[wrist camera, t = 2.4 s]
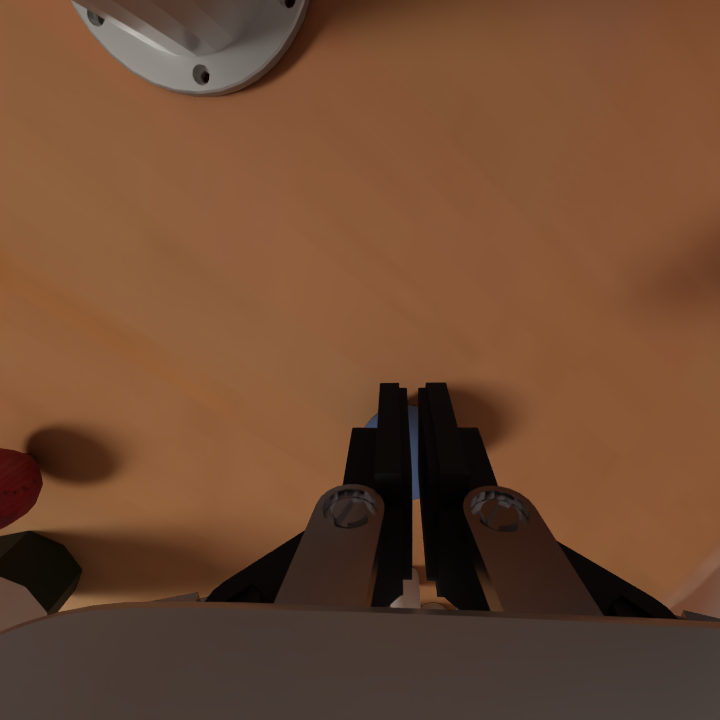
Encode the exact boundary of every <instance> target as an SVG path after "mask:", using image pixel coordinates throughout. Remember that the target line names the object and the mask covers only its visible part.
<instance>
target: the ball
mask: <svg viewBox="0 0 720 720" xmlns="http://www.w3.org/2000/svg"><path fill="white" fill-rule="evenodd" d="M408 415H409V431H410V446H411V462H412V500H415V499H419V498H420V494H419V482H418V407H415V406H410V405H408ZM377 422H378V413H377V414H376V415H375V416H374V417H373V418H372V419H371V420H370V421H369V422H368V423H367V425H366V426H365V428H377Z"/></svg>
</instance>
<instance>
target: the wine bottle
mask: <svg viewBox="0 0 720 720" xmlns="http://www.w3.org/2000/svg"><path fill="white" fill-rule="evenodd" d="M81 572H82V569H81V568H80V566H79V565H78V564H77V562H76V561H75V560H74V558H73V557H72V556H71V554H70V553H69V552H68V550H67V549H66V548H65V546H64V545H62V544H59V543H57V542H55V541H52V540H50V539H47V538H45V537H43V536H40V535H38V534H35V533H33V532H31V531H25V532H20V533H15V534H10V535H5V536H0V632H1V631H3V630H5V629H8V628H10V627H13V626H15V625H18V624H21V623H24V622H27V621H30V620H34V619H37V618H40V617H43V616H47V615H50V614H53V613H57V612H58V611H59V610H60V609H61V607H62V606H63V605H64V603H65V602H66V601H67V600H68V598H69V597H70V596H71V595H72V593H73V592H74V591H75V589H76V586H77V583H78V581H79V578H80V575H81Z"/></svg>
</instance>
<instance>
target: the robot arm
mask: <svg viewBox="0 0 720 720" xmlns="http://www.w3.org/2000/svg"><path fill="white" fill-rule="evenodd" d="M70 1H71V3H72V5H73V7H74V9H75V10H76V12H77V13H78V15H79V16H80V18H81V19H82V21H83V22H84V24H85V25H86V27H87V28H88V30H89V31H90V33H91V34H92V35H93V36H94V37H95V38H96V39H97V41H98V42H99V43H100V44H101V45H102V46H103V47H104V48H105V50H106V51H107V52H108V53H109V54H110V55H111V56H112V57H113V58H115V59H116V60H117V61H118V62H120V63H121V64H122V65H123V66H125V67H126V68H127V69H128V70H129V71H131V72H132V73H134V74H136V75H137V76H139V77H141V78H143V79H145V80H146V81H148V82H150V83H152V84H154V85H156V86H159V87H161V88H164V89H166V90H169V91H171V92H174V93H179V94H184V95H189V96H194V97H211V96H220V95H224V94H228V93H232V92H236V91H239V90H241V89H243V88H244V87H246V86H248V85H250V84H252V83H254V82H256V81H258V80H259V79H260V78H261V77H262V76H264V75H265V74H266V73H267V72H268V71H269V70H271V69H272V68H273V67H274V66H275V65H276V64H277V63H278V61H279V60H280V59H281V58H282V56H283V55H284V54H285V52H286V51H287V50H288V48H289V47H290V46H291V44H292V42H293V40H294V38H295V36H296V35H297V33H298V31H299V29H300V27H301V25H302V23H303V21H304V18H305V15H306V12H307V8H308V5H309V2H310V0H295V4H294V6H293V7H291V8H287V1H288V0H70ZM104 19H105V21H104ZM208 73H209V74H210V77H209V81H208V83H207V84H206V83H205V81H204V77H205V75H206V74H208ZM418 482H419V494H420V506H421V518H422V530H423V542H424V554H425V566H426V577H427V581H436V590H437V597H445V598H446V599H447V600H448V601H449V602H450V603H452V604H453V605H454V606H455V607H456V610H447V609H421V608H394V607H388V606H390V605H391V604H392V603H393V602H394V601H395V600H396V599H397V598H398V597H400V596H403V580H412V462H411V446H410V431H409V415H408V400H407V388H399V383H380V393H379V407H378V422H377V428H353V429H352V433H351V439H350V445H349V451H348V457H347V463H346V469H345V475H344V481H343V485H342V486H337V487H335V488H333V489H331V490H329V491H327V492H326V493H325V494H324V495H322V496H321V498H320V499H319V501H318V502H317V504H316V506H315V508H314V511H313V513H312V515H311V518H310V520H309V522H308V525H307V527H306V529H305V531H303V532H301V533H300V534H298V535H297V536H295V537H294V538H292V539H290V540H289V541H287V542H286V543H284V544H283V545H281V546H280V547H278V548H276V549H275V550H273V551H272V552H270V553H269V554H267V555H265V556H264V557H262V558H261V559H259V560H258V561H256V562H254V563H253V564H251V565H250V566H248V567H247V568H245V569H244V570H242V571H240V572H239V573H237V574H236V575H234V576H233V577H231V578H229V579H228V580H226V581H225V582H223V583H222V584H221V585H220V586H218V587H217V588H216V589H215V590H213V591H212V593H211V594H210V595H209V596H208V597H204V598H199V594H198V592H197V593H192V594H187V595H182V596H176V597H171V598H166V599H161V600H156V601H150V602H122V603H112V604H102V605H93V606H88V607H82V608H77V609H72V610H67V611H61V612H57V613H53V614H50V615H47V616H43V617H40V618H37V619H34V620H30V621H27V622H24V623H21V624H18V625H15V626H13V627H10V628H8V629H5V630H3V631H1V632H0V720H720V619H719V618H715V617H711V616H706V615H702V614H698V613H693V612H689V611H685V610H683V612H682V615H681V617H680V616H676V615H674V614H673V613H672V612H671V611H670V610H669V609H668V608H667V607H666V606H664V605H663V604H662V603H660V602H659V601H657V600H656V599H655V598H653V597H652V596H650V595H648V594H647V593H645V592H643V591H641V590H640V589H638V588H636V587H635V586H633V585H631V584H630V583H628V582H626V581H624V580H623V579H621V578H619V577H618V576H616V575H614V574H612V573H611V572H609V571H607V570H606V569H604V568H602V567H601V566H599V565H597V564H595V563H594V562H592V561H590V560H589V559H587V558H585V557H583V556H582V555H580V554H578V553H577V552H575V551H573V550H572V549H570V548H568V547H566V546H565V545H563V544H561V543H560V542H558V541H556V539H555V538H554V536H553V535H552V533H551V531H550V530H549V528H548V527H547V525H546V523H545V522H544V520H543V519H542V517H541V516H540V514H539V512H538V511H537V509H536V508H535V506H534V505H533V504H532V503H531V502H530V501H529V499H527V498H526V497H524V496H523V495H522V494H520V493H518V492H516V491H514V490H511V489H509V488H505V487H500V486H498V485H497V482H496V479H495V476H494V473H493V470H492V467H491V464H490V462H489V459H488V456H487V453H486V450H485V447H484V444H483V441H482V438H481V436H480V433H479V430H478V428H458V427H457V423H456V419H455V416H454V412H453V408H452V404H451V400H450V397H449V393H448V389H447V385H446V383H426V387H425V388H418Z"/></svg>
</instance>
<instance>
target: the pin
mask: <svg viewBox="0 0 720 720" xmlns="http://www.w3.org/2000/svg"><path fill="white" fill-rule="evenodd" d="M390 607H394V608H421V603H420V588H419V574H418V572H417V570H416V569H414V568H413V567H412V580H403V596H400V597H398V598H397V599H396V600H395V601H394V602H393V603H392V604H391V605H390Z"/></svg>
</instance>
